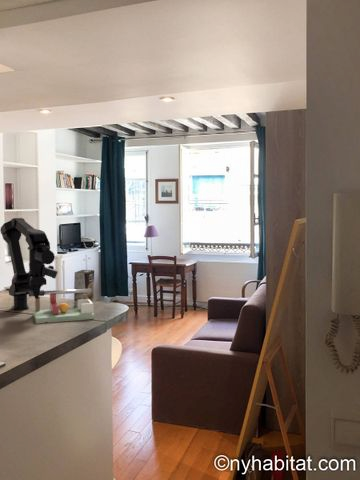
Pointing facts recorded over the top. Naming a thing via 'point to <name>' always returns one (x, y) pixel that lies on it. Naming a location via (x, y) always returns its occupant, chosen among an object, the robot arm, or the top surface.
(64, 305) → the ball
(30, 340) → the top surface
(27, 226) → the robot arm
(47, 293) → the rod
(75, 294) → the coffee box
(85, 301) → the foosball frame
